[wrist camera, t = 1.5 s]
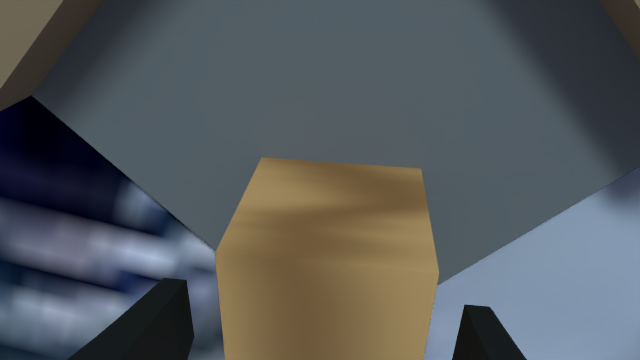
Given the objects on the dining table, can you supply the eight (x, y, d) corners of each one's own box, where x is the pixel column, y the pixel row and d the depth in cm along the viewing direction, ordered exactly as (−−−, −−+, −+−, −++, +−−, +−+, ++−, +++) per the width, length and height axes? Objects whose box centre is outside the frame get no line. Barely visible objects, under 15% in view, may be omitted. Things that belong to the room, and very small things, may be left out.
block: (421, 168, 15) (438, 273, 10) (403, 292, 17) (412, 419, 13) (261, 157, 15) (215, 253, 11) (265, 280, 18) (229, 399, 13)
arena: (721, 102, 14) (804, 146, 11) (332, 336, 20) (324, 401, 17) (373, -456, 9) (371, -601, 7) (10, 61, 15) (-66, 91, 13)
